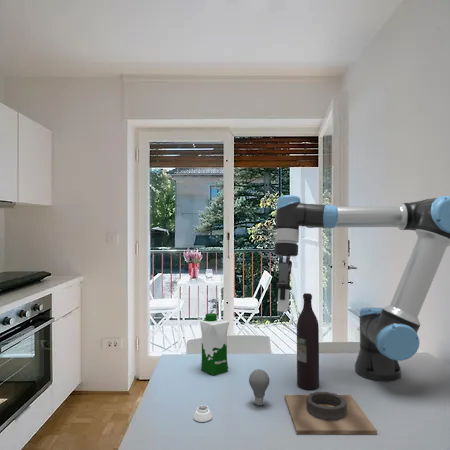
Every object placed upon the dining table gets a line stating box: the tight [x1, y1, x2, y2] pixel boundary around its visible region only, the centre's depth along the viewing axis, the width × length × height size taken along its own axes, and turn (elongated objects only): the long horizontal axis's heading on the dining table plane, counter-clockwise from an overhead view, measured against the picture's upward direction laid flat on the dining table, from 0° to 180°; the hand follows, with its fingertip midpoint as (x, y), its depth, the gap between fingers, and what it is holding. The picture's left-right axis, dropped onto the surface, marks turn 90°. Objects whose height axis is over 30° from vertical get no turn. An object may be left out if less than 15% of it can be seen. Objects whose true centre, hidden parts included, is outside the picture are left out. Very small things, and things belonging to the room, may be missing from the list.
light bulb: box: [248, 368, 270, 406], centre depth 109 cm, size 6×6×10 cm
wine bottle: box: [296, 292, 320, 391], centre depth 122 cm, size 7×7×30 cm
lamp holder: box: [284, 391, 378, 435], centre depth 103 cm, size 20×20×4 cm
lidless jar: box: [193, 405, 213, 423], centre depth 102 cm, size 5×3×5 cm
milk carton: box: [199, 312, 230, 377], centre depth 136 cm, size 9×9×20 cm
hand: (283, 310), depth 117 cm, fingers open, 13 cm apart
